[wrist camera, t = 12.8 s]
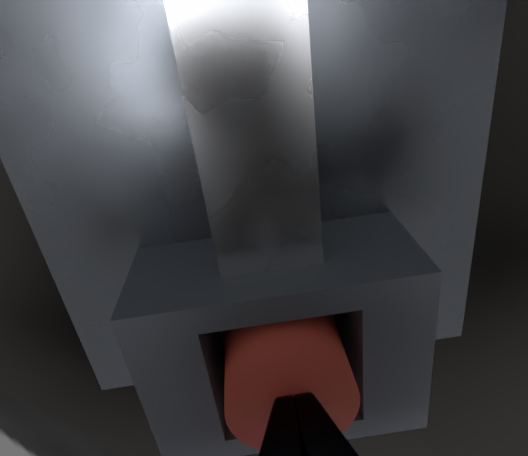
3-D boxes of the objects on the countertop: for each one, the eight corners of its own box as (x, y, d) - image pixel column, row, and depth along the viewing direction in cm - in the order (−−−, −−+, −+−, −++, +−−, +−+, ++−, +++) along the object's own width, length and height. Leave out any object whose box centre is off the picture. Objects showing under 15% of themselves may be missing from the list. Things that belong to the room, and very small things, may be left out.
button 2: (323, 260, 11) (359, 348, 8) (328, 341, 13) (361, 442, 10) (216, 276, 11) (212, 370, 8) (233, 355, 13) (235, 462, 10)
